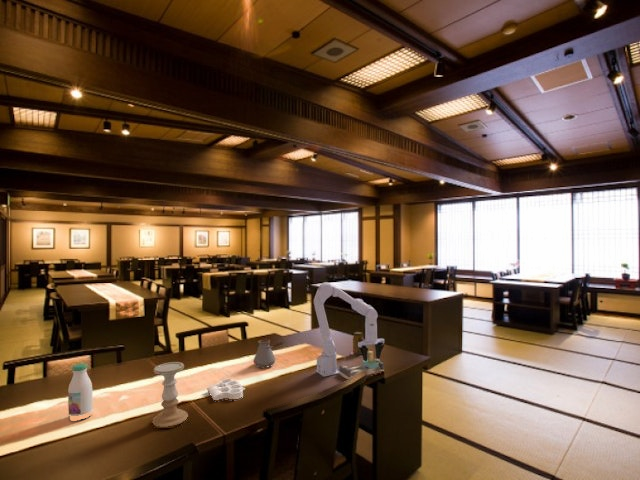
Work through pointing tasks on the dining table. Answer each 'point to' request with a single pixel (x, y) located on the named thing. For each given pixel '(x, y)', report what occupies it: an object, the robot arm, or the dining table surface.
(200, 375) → the dining table surface
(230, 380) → the white flat scalloped piece
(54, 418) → the dining table surface
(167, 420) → the candle holder
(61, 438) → the dining table surface
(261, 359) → the coffee pot
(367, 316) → the robot arm
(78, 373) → the milk bottle
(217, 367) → the dining table surface
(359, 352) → the condiment
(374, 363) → the carriage
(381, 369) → the rail bed
